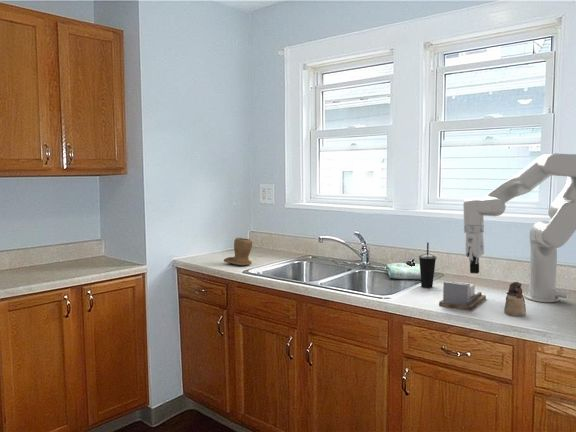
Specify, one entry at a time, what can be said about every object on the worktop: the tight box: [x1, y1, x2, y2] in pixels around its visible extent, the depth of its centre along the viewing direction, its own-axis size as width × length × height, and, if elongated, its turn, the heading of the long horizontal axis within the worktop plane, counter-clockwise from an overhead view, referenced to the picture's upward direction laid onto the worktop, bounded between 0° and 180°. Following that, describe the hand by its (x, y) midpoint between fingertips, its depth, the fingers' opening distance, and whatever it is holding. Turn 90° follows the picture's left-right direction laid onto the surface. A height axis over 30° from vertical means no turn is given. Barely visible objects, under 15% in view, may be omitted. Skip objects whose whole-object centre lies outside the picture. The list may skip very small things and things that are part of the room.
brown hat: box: [223, 237, 253, 266], centre depth 269 cm, size 15×12×15 cm
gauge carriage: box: [459, 281, 476, 299], centre depth 192 cm, size 9×10×5 cm
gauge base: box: [438, 291, 487, 312], centre depth 192 cm, size 12×20×3 cm, turn 143°
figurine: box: [503, 281, 527, 318], centre depth 176 cm, size 7×7×12 cm
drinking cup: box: [418, 242, 437, 289], centre depth 217 cm, size 8×8×20 cm
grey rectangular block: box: [442, 280, 471, 306], centre depth 185 cm, size 9×3×8 cm, turn 53°
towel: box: [386, 262, 421, 281], centre depth 240 cm, size 18×21×5 cm
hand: (474, 272), depth 199 cm, fingers closed
